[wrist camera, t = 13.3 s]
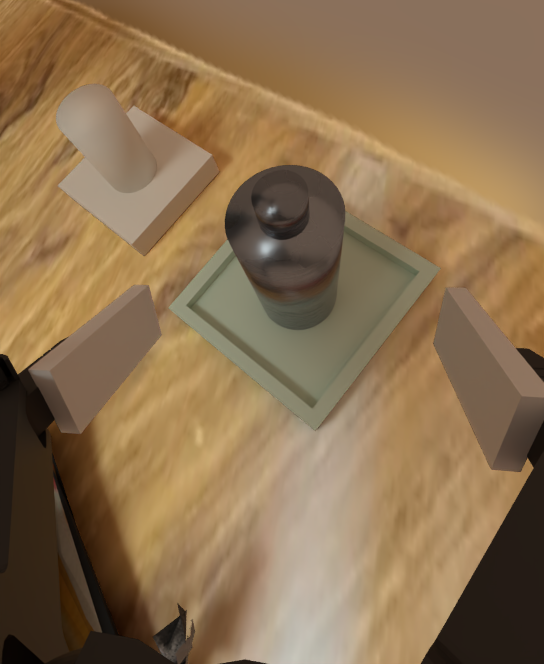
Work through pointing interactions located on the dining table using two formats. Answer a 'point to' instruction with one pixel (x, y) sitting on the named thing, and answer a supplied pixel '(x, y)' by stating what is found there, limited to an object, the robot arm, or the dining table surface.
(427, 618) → the dining table surface
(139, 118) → the post stand
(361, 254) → the tray
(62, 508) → the figurine
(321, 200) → the dark plastic bottle
